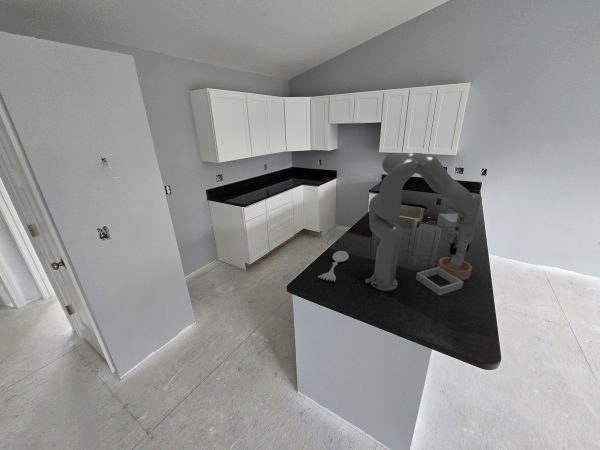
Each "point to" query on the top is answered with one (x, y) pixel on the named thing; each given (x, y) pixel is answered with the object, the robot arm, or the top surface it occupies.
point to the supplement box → (447, 222)
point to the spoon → (338, 257)
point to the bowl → (456, 268)
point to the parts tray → (445, 289)
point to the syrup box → (458, 254)
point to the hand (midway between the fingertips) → (458, 251)
